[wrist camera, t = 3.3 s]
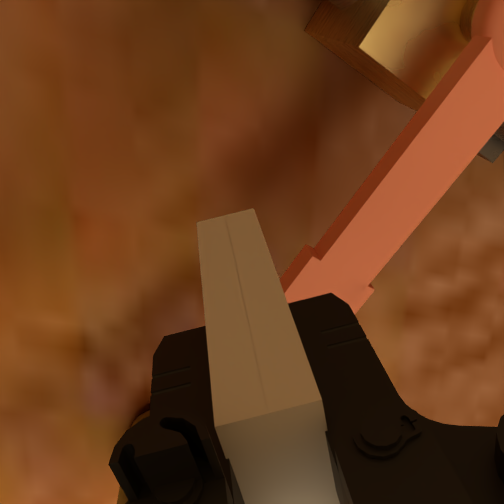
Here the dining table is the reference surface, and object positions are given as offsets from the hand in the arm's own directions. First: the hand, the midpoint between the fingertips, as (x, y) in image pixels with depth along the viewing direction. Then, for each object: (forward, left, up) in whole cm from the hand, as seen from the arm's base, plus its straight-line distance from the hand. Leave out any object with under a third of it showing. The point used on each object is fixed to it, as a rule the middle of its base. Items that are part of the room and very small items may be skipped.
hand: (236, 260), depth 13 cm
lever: (+6, +4, -5) cm, 9 cm away
